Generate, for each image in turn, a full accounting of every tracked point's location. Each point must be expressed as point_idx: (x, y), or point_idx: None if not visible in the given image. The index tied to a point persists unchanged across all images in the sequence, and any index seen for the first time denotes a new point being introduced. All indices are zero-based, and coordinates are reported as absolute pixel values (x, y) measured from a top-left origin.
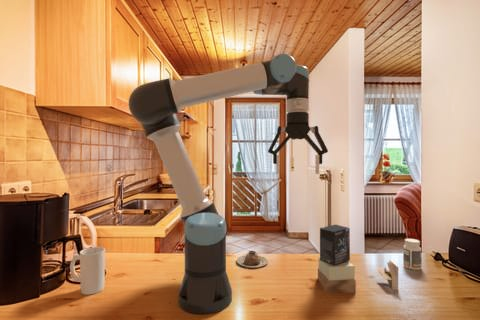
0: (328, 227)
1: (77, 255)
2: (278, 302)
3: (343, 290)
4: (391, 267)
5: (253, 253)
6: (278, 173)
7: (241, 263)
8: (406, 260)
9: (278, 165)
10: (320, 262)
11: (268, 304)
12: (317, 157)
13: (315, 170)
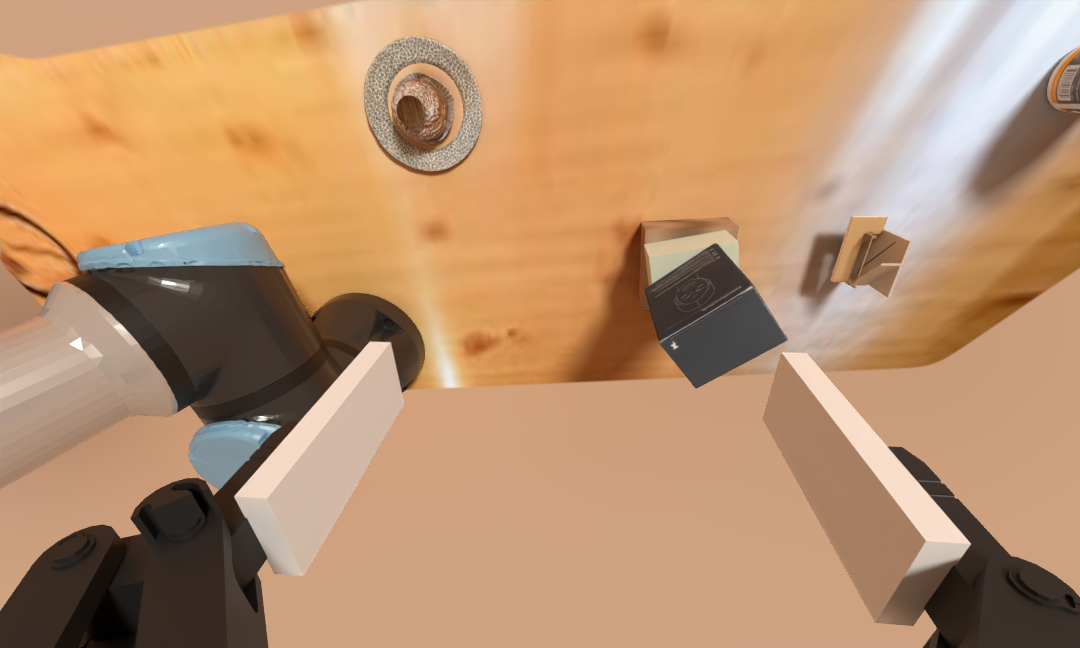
0: (697, 340)
1: None
2: (522, 345)
3: None
4: (879, 271)
5: (418, 121)
6: (400, 405)
7: (390, 134)
8: (1074, 91)
9: (366, 460)
10: (649, 267)
11: (501, 353)
12: (860, 582)
13: (794, 376)
